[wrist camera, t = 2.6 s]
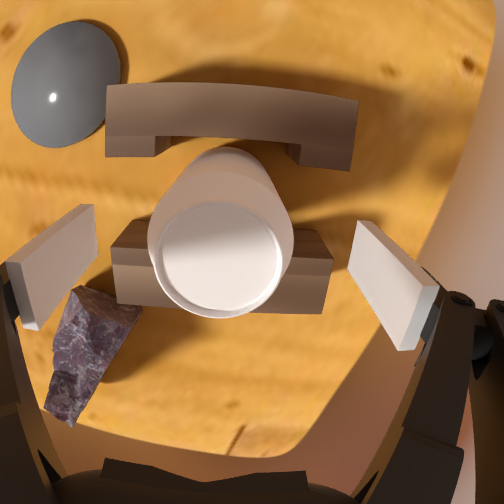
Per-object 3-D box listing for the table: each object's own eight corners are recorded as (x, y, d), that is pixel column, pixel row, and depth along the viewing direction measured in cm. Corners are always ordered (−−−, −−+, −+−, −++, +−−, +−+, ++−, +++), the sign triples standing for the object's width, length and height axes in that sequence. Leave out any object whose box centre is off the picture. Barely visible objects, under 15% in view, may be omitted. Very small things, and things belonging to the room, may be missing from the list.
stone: (40, 337, 15) (21, 433, 20) (129, 383, 18) (80, 460, 22) (89, 258, 25) (51, 360, 29) (151, 293, 27) (99, 384, 31)
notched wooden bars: (133, 89, 19) (106, 85, 15) (333, 101, 20) (359, 100, 16) (135, 269, 25) (117, 303, 20) (307, 278, 26) (321, 314, 22)
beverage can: (168, 166, 22) (106, 225, 11) (249, 131, 21) (266, 153, 10) (204, 240, 24) (184, 348, 13) (281, 209, 24) (321, 300, 13)
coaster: (20, 36, 16) (16, 36, 15) (128, 14, 17) (126, 12, 16) (14, 151, 20) (11, 152, 20) (118, 144, 21) (115, 144, 20)
